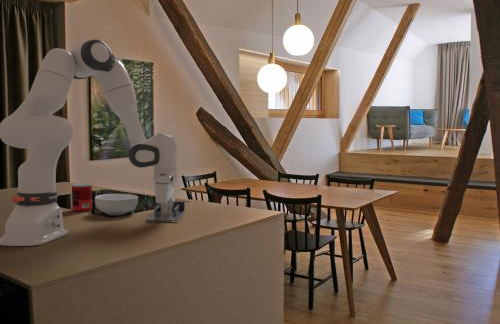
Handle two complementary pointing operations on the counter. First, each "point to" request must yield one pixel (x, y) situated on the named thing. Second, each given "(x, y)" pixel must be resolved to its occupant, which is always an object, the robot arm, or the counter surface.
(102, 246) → the counter surface
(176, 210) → the coupler rail
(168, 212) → the lock block
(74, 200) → the canned food
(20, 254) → the counter surface
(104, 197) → the cereal bowl
